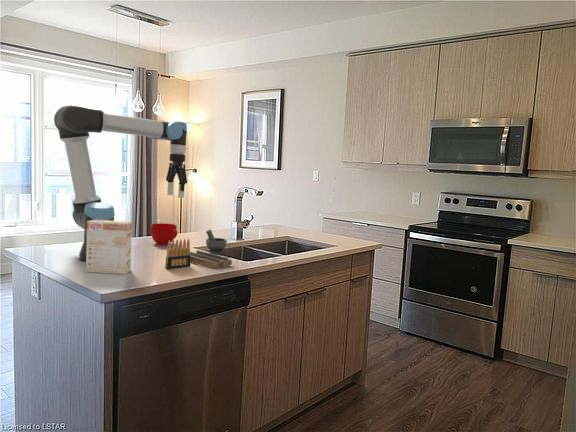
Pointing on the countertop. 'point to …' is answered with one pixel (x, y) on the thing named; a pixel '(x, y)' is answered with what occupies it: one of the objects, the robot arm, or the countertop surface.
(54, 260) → the countertop surface
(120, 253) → the coffeecake box
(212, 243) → the mortar and pestle
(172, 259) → the ammunition clip
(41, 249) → the countertop surface
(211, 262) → the stick bundle
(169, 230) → the ceramic cup
